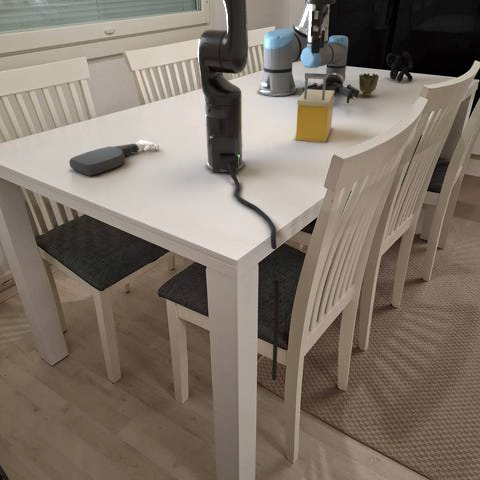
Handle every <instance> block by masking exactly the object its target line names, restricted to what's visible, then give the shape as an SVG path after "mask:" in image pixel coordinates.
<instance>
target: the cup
mask: <svg viewBox="0 0 480 480" xmlns="http://www.w3.org/2000/svg"><path fill="white" fill-rule="evenodd" d="M379 77H380V75H379V74H378V73H373V74H371V75H370V73H369V72H368V73H365V72H364V73H363V74H362V73H361V74H359V77H358V79H359V80H358V84H359V85H358V86H359V91H361V95H362V97H366V98H367V97H371V96H372V93H373V92H374V91H375V90H376V88H377V86H378V81H379Z"/></svg>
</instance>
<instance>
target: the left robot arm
mask: <svg viewBox="0 0 480 480" xmlns="http://www.w3.org/2000/svg"><path fill="white" fill-rule="evenodd" d="M306 1H307V3H308V4H314V5H315V10H314V11H312V13H311V14H312V18H311V33H310V36H311V38H312V46H311V53H319V52H320V48H323V47H324V41H325V34H324V33H326V30H327V24H328V15H329V16H330V7H329V8H328V6H327V5H326V4H330V5H333V4H335V3H336V1H337V0H306ZM222 3H223V6H224V10H225V15H226V27H227V28H226V30H225V29H206V30H204V31H203V32H202V33H201V34H200V37H199V39H198V46H197V58H198V67H199V68H198V69H199V77H200V86H201V87H200V88H201V92H202V94H203V99H204V100H203V101H204V116H205V117H204V118H205V133H206V134H205V135H206V151H207V152H206V153H207V168H208V169H209V170H211V172H212V173H229V174H230V177H231V179H232V180H233V182H234V184H235V189H234V191H233V195H234V197H235V199H236V200H237V201H238V202H240V203H241V204H242V205H244V206H246V207H248V208H250V209H252V210H253V211H254V212H256V213H257V214H258V215H259V216H261V217H262V219H264V220H265V222H266V223H267V225H268V226H269V229H270V245H271V249H272V250H277V229H276V226H275V224H274V222H273V221H272V219H271V218H270V217H269V216H268V215H267V214H266V213H265V212H264V211H263V210H262V209H260V208H259V207H258V206H257V205H255V204H254V203H252V202H249V201H247V200H245V199H244V198H242V197H241V196H240V195H239V192H240V190H241V189H240V187H241V184H240V182H239V180H238V178H237V176H236V173H237V171H239V170H240V169H242V168H243V166H244V160H243V114H242V113H243V109H242V108H243V106H242V105H243V104H242V103H243V102H242V101H243V100H242V99H243V98H242V96H243V95H242V90H241V88H240V87H239V86H237V85H235V84H233V83H232V82H230V81H229V80H228V79H227V78H226V77H225V75H224V74H231V75H238V74H241V73H243V72H244V70H245V69H246V66H247V63H248V57H249V34H248V33H249V32H248V30H249V29H248V11H247V0H222ZM328 10H329V12H328ZM315 30H316V31H315ZM273 295H274V300H273V301H274V302H273V303H274V304H273V305H274V309H273V312H274V313H273V338H272V339H273V340H272V341H273V342H272V368H271V380H272V381H276V380H277V367H278V349H279V348H278V347H279V345H278V343H279V329H280V328H279V325H280V324H279V323H280V280H279V279H274V280H273Z"/></svg>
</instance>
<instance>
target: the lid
mask: <svg viewBox="0 0 480 480" xmlns="http://www.w3.org/2000/svg"><path fill="white" fill-rule="evenodd" d="M309 79H312V80H315V79H316V80H322V84H323V90H312V89H307V86H309V85H308V84H309ZM326 79H327V74H326V73H317V72H316V73H315V72H314V73H313V72H305V73H304V87H305V91H304V92H303V94H302V93H301V95H300V96H299V98H297V101H296V102H297V103H296V104H297V106H298V105H311V106H327V107H328V106H329V104H330V102H331V100H332V98H333V96H334V91H331V90H325V88H326ZM334 97H335V96H334Z"/></svg>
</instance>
